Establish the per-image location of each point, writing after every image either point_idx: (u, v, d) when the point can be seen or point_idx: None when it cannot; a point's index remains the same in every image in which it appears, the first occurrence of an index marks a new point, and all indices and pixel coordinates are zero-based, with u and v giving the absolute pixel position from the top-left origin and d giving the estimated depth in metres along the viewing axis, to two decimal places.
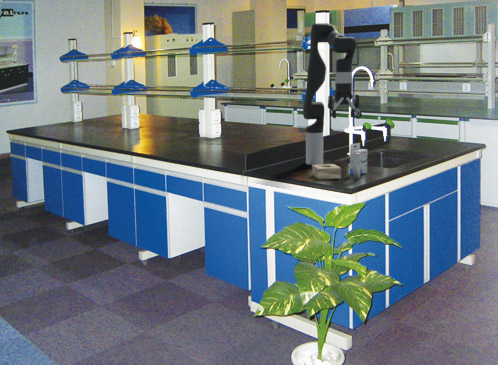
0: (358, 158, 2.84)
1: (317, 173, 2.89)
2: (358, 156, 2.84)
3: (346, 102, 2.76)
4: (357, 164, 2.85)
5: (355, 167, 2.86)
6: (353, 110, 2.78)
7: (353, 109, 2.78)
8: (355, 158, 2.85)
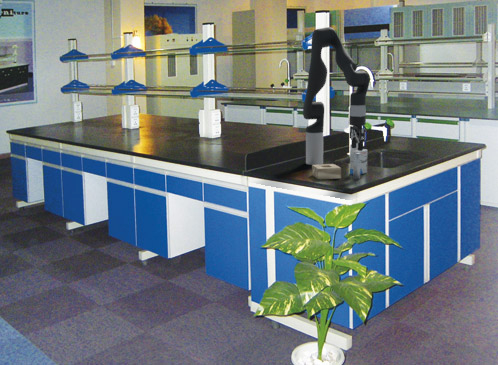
0: (358, 158, 2.84)
1: (317, 173, 2.89)
2: (358, 156, 2.84)
3: None
4: (357, 164, 2.85)
5: (355, 167, 2.86)
6: (355, 141, 2.89)
7: None
8: (355, 158, 2.85)
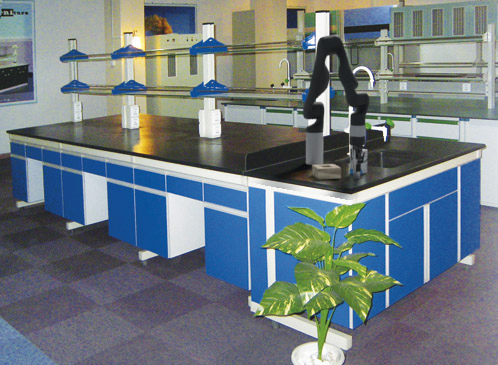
0: None
1: (317, 173, 2.89)
2: None
3: None
4: None
5: (355, 167, 2.86)
6: None
7: None
8: None
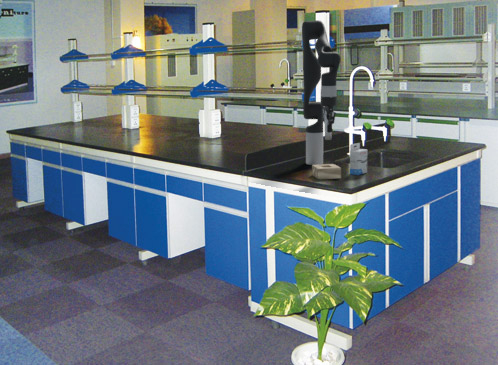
0: None
1: (317, 173, 2.89)
2: None
3: None
4: None
5: (326, 128, 2.87)
6: None
7: None
8: None
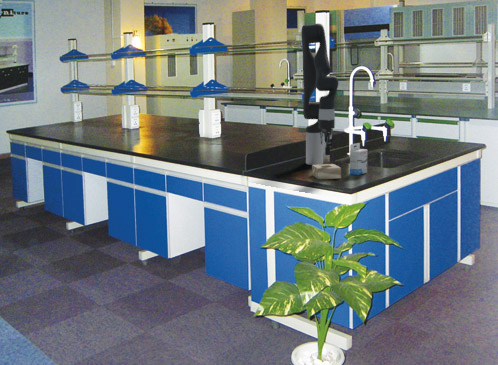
0: None
1: (317, 173, 2.89)
2: None
3: None
4: None
5: (324, 150, 2.90)
6: None
7: None
8: None
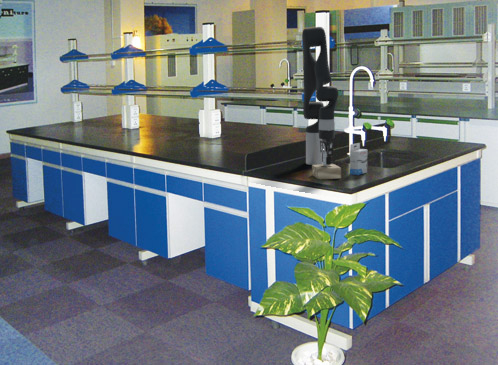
0: None
1: (317, 173, 2.89)
2: None
3: None
4: None
5: (324, 165, 2.91)
6: None
7: None
8: (324, 157, 2.90)
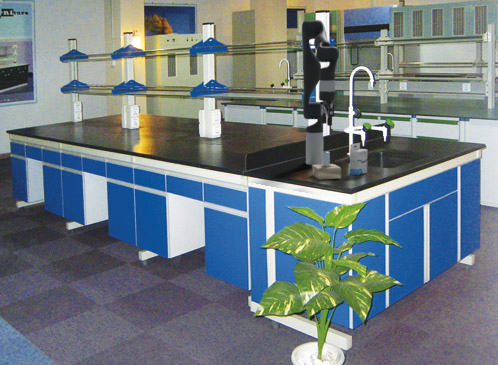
0: (327, 157, 2.90)
1: (317, 173, 2.89)
2: (327, 154, 2.90)
3: None
4: (326, 162, 2.90)
5: (324, 165, 2.91)
6: None
7: (325, 115, 2.92)
8: (324, 157, 2.90)
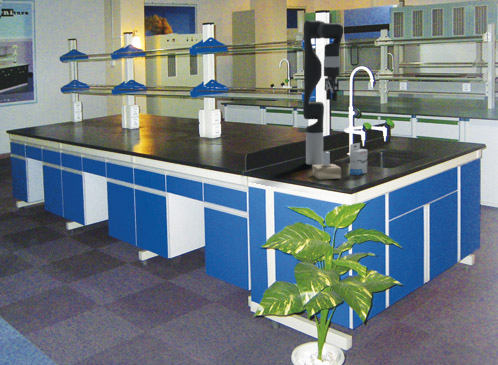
0: (327, 157, 2.90)
1: (317, 173, 2.89)
2: (327, 154, 2.90)
3: None
4: (326, 162, 2.90)
5: (324, 165, 2.91)
6: (330, 92, 2.97)
7: None
8: (324, 157, 2.90)
